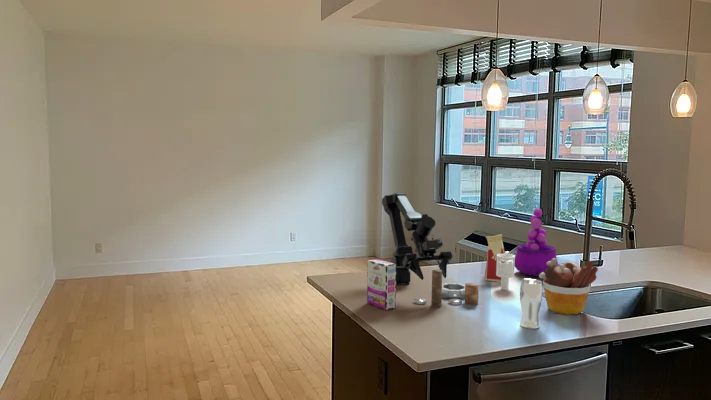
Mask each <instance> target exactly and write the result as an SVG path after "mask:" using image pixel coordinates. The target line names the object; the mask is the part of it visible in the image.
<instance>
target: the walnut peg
mask: <svg viewBox="0 0 711 400" xmlns="http://www.w3.org/2000/svg"><path fill="white" fill-rule="evenodd" d="M442 284H443V275H442V270H440V269H432V271H431V302H430V303H431V307H435V308H439V307H442Z"/></svg>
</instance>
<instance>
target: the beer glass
mask: <svg viewBox="0 0 711 400" xmlns="http://www.w3.org/2000/svg"><path fill="white" fill-rule="evenodd" d="M542 300H543V280H542V281H541V280H540V279H534V278H522V279H521V281H520V288H519V301H520V303H519V304H520V308H521V318H520V321H519V322H520V323H519V325H520V327H521V328H524V329H529V330H534V329H538V328H540V321H539V317H540V310H541V306H542Z"/></svg>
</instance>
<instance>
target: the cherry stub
mask: <svg viewBox="0 0 711 400" xmlns="http://www.w3.org/2000/svg"><path fill="white" fill-rule="evenodd" d="M464 285H465V299H464V304H465V305H469V306H475V305H476V306H477V305H478V304H479V291H480V290H479V288H480V284H479V283H476V282H466V283H465V284H464Z"/></svg>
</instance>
